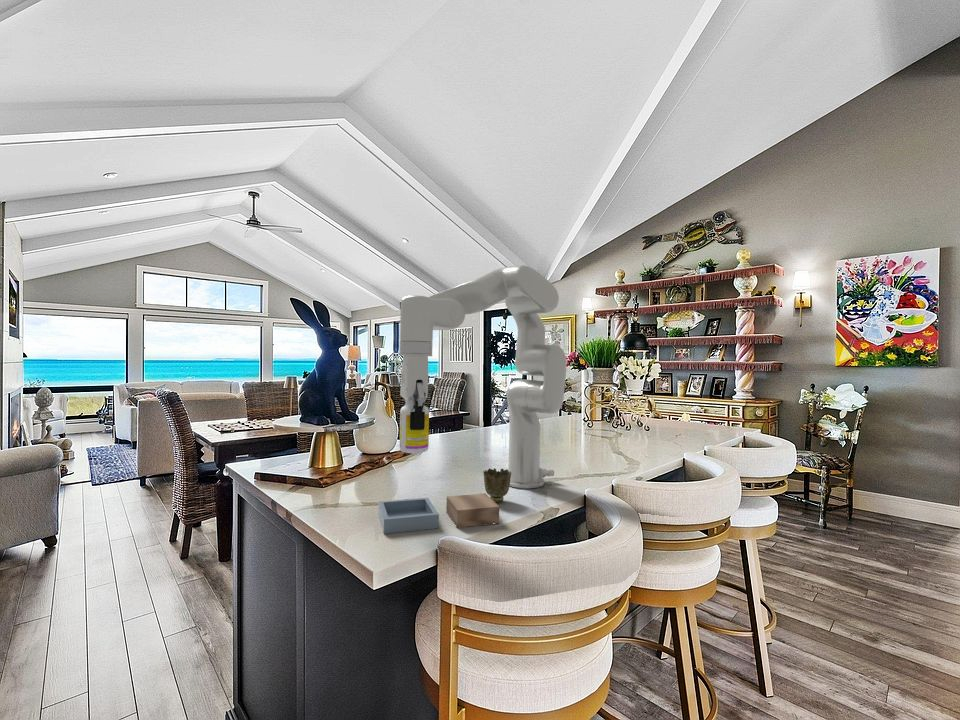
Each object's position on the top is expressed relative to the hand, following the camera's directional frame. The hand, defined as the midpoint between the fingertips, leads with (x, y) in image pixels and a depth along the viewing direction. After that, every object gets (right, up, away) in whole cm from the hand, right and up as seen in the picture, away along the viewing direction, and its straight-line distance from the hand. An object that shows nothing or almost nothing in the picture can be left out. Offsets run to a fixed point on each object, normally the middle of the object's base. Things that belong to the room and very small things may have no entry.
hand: (414, 426), depth 102 cm
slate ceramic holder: (-2, -22, 0) cm, 22 cm away
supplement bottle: (0, -6, 0) cm, 6 cm away
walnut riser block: (+13, -22, +3) cm, 26 cm away
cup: (+20, -22, +15) cm, 34 cm away
